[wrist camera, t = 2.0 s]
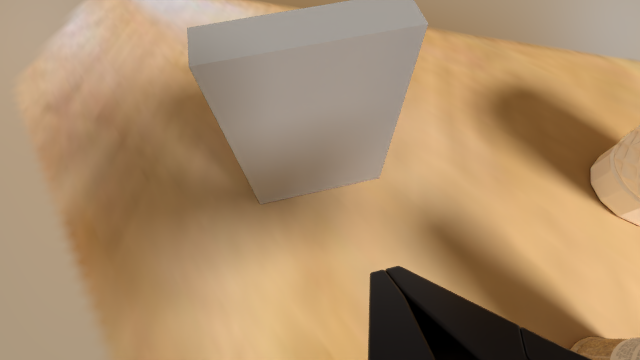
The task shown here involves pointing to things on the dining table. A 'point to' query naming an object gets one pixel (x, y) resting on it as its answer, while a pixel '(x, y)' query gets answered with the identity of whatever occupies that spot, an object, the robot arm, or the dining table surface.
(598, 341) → the sprinkles bottle
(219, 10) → the dining table surface
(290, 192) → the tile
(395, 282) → the robot arm
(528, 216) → the dining table surface
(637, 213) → the white cup
